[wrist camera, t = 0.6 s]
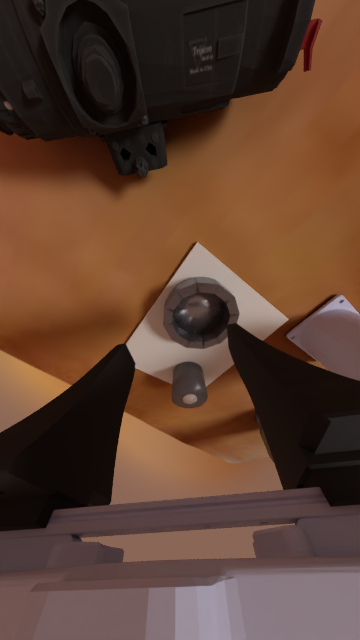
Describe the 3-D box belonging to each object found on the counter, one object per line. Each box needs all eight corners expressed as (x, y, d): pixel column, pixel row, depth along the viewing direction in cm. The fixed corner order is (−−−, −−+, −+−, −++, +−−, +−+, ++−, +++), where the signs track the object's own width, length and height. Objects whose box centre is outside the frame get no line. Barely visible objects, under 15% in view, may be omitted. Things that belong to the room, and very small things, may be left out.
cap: (209, 369, 26) (215, 396, 21) (190, 386, 28) (192, 413, 23) (184, 356, 24) (186, 383, 20) (166, 375, 26) (165, 402, 22)
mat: (287, 318, 21) (288, 319, 21) (195, 393, 29) (196, 395, 29) (196, 241, 16) (197, 242, 16) (116, 357, 24) (115, 359, 24)
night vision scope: (57, 150, 15) (-192, -257, 5) (249, 111, 14) (363, -446, 4) (42, 208, 12) (-538, -428, 2) (280, 163, 11) (745, -988, 2)
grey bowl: (245, 302, 20) (254, 312, 17) (202, 345, 23) (204, 358, 21) (192, 261, 17) (195, 265, 15) (152, 316, 20) (149, 327, 18)
